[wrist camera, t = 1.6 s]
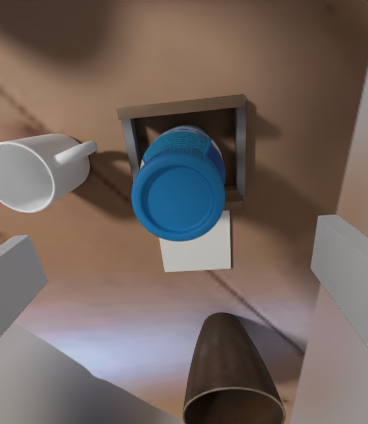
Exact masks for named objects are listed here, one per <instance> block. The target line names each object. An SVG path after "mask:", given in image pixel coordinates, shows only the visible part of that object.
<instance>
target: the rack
mask: <svg viewBox="0 0 368 424" xmlns="http://www.w3.org/2000/svg"><path fill="white" fill-rule="evenodd" d="M225 108H234V135H235V185H224V188H225V190H224V191H225V205H224V209H223V211H229V210H243V209H244V200H243V199H242V197H241V196H245V180H246V96H244V94H241V95H232V96H223V97H214V98H205V99H196V100H187V101H178V102H169V103H160V104H151V105H142V106H133V107H124V108H117V113H118V118H119V120H122V126H123V131H124V136H125V141H126V146H127V151H128V157H129V162H130V167H131V172H132V177H133V183H134V180H135V177H136V176H137V173H138V171H139V170H140V166H141V157H140V151H139V146H138V140H137V134H136V128H135V122H134V118H141V117H151V116H160V115H169V114H179V113H188V112H197V111H207V110H216V109H225Z"/></svg>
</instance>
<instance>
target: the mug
mask: <svg viewBox="0 0 368 424" xmlns="http://www.w3.org/2000/svg"><path fill="white" fill-rule="evenodd" d="M97 148H98V145H97V143H96V142H94V141H88V142H85V143H82V144H79V143H78V142H77V141H76V140H75V139H73V138H71V137H69V136H67V135H63V134H47V135H41V136H35V137H29V138H23V139H18V140H12V141H6V142H1V143H0V202H1V203H3V204H4V205H6V206H7V207H9V208H11V209H14V210H16V211H20V212H26V213H32V212H38V211H41V210H43V209H45V208H46V207H48V206H49V205H51V204H52V203H54V202H56V201H57V200H59V199H60V198H62V197H63V196H65V195H66V194H68V193H69V192H71V191H72V190H74V189H75V188H77V187H78V186H79V185H81V184H82V183H83V182H84V181H85V180H86V178H87V176H88V174H89V170H90V163H89V158H88V155H90V154H92V153H93V152H95V151H96V150H97Z"/></svg>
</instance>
